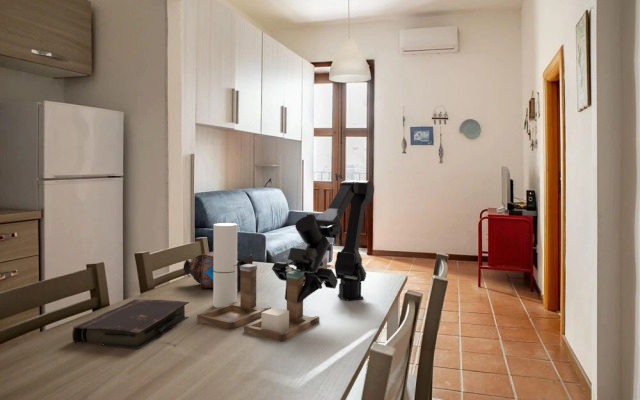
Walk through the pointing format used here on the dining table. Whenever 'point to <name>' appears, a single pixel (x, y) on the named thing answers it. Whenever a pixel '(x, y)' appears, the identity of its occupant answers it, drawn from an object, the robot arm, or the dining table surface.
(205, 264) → the patterned brown vase
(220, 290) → the cylindrical container
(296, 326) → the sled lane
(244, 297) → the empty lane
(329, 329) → the dining table surface
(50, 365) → the dining table surface
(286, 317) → the cube
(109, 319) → the diary
